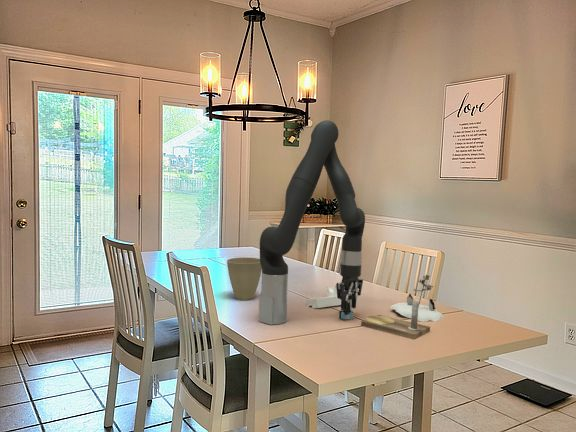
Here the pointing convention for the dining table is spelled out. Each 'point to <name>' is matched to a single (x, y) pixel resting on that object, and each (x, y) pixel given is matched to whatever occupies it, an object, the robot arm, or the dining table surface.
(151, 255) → the dining table surface
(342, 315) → the push button
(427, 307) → the figurine
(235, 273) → the plant pot
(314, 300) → the bracket
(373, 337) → the dining table surface
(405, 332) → the gauge board
